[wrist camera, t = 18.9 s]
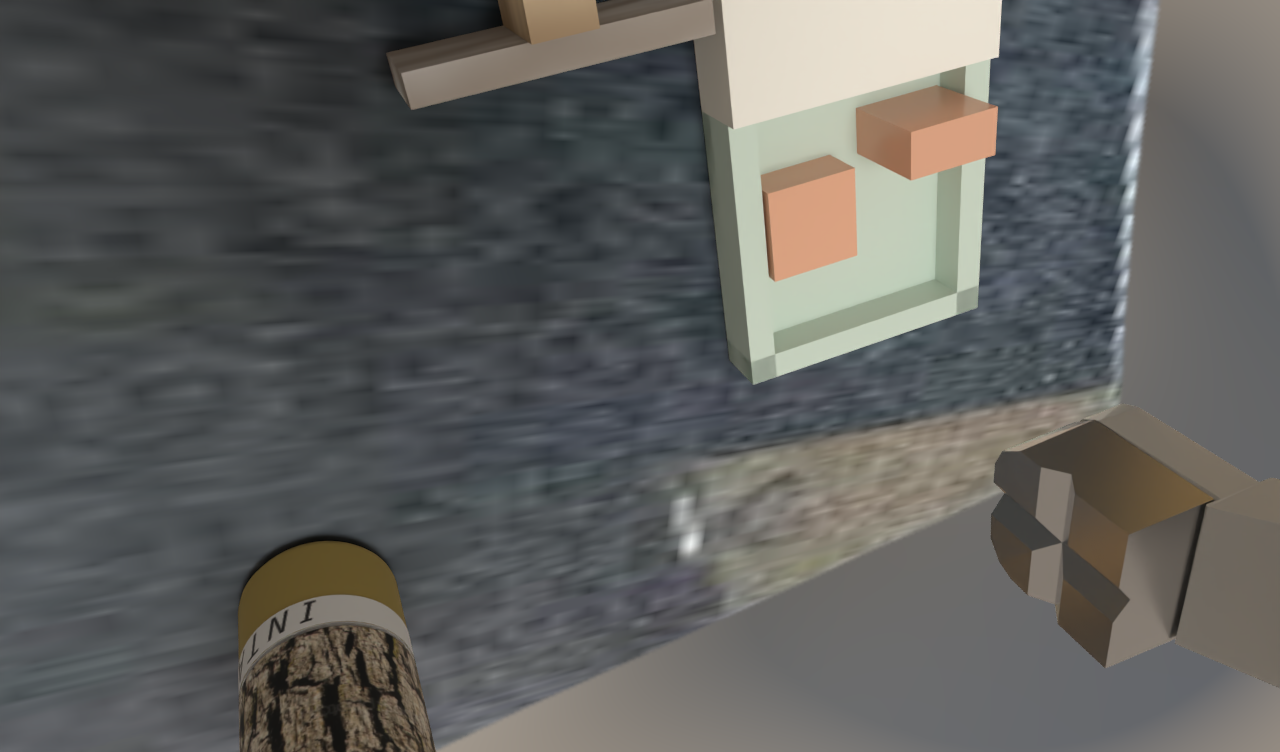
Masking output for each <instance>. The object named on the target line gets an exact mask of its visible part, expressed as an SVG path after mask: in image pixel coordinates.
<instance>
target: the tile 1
mask: <svg viewBox="0 0 1280 752" xmlns="http://www.w3.org/2000/svg"><path fill="white" fill-rule="evenodd" d="M761 186H762V199H763V211H764V224H765V236H766V248H767V261H768V273H769V277H770V278H771V279H772V280H773V281H775V282H777V281H780V280H783V279H786V278H789V277H792V276H795V275H798V274H801V273H804V272H808V271H811V270H814V269H817V268H820V267H823V266H826V265H829V264H832V263H835V262H839V261H842V260H845V259H848V258H851V257H854V256H857V225H856V190H855V168H854V167H852V166H850V165H848V164H846V163H844V162H843V161H841V160H839V159H837V158H835V157H833V156H831V155H827V156H824V157H820V158H817V159H814V160H810V161H807V162H803V163H800V164H796V165H793V166H790V167H786V168H783V169H779V170H776V171H773V172H769V173H766V174H762V175H761Z"/></svg>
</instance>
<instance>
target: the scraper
mask: <svg viewBox="0 0 1280 752" xmlns="http://www.w3.org/2000/svg"><path fill="white" fill-rule="evenodd" d="M498 3H499V8H500V12H501V17H502V22H503V26H499V27H495V28H490V29H486V30H482V31H477V32H473V33H469V34H465V35H460V36H456V37H452V38H448V39H443V40H439V41H435V42H430V43H426V44H422V45H418V46H413V47H409V48H405V49H401V50H396V51H392V52H388V53H386V55H387V58H388V62H389V65H390V69H391V72H392V76H393V79H394V83H395V86H396V88H397V90H398V91H399V93H400V94H401V96H402V97H403V99H404V100H405V101H406V103H407V104H408V106H409V107H410V109H411V110H413V109H417V108H421V107H426V106H430V105H434V104H438V103H442V102H446V101H450V100H454V99H458V98H462V97H466V96H470V95H474V94H478V93H482V92H486V91H490V90H494V89H498V88H502V87H506V86H510V85H514V84H518V83H522V82H526V81H530V80H534V79H538V78H542V77H546V76H550V75H554V74H558V73H562V72H566V71H570V70H574V69H578V68H582V67H586V66H590V65H594V64H598V63H602V62H606V61H610V60H614V59H618V58H622V57H626V56H630V55H634V54H638V53H642V52H646V51H650V50H654V49H658V48H662V47H666V46H670V45H674V44H678V43H682V42H686V41H690V40H694V39H698V38H702V37H706V36H710V35H714V34H716V31H715V21H714V11H713V1H712V0H610V1H606V2H601V3H597V4H596V0H498Z"/></svg>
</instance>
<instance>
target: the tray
mask: <svg viewBox="0 0 1280 752" xmlns="http://www.w3.org/2000/svg"><path fill="white" fill-rule="evenodd" d="M989 76H990V59H989V60H985V61H981V62H978V63H974V64H971V65H967V66H963V67H960V68H956V69H952V70H949V71H945V72H941V73H938V74H934V75H931V76H927V77H923V78H920V79H916V80H912V81H909V82H905V83H901V84H898V85H894V86H890V87H887V88H883V89H880V90H876V91H872V92H869V93H865V94H861V95H858V96H854V97H850V98H847V99H843V100H840V101H836V102H832V103H829V104H825V105H821V106H818V107H814V108H810V109H807V110H803V111H799V112H796V113H792V114H789V115H785V116H781V117H778V118H774V119H770V120H767V121H763V122H759V123H756V124H752V125H749V126H745V127H741V128H738V129H732V128H730V127H728V126H727V125H725V124H723V123H721V122H720V121H718V120H716V119H715V118H713V117H711V116H709V115H708V114H706V113H704V112H703V111H702V119H703V128H704V137H705V146H706V155H707V164H708V173H709V182H710V191H711V200H712V209H713V218H714V227H715V236H716V245H717V254H718V263H719V272H720V281H721V290H722V299H723V307H724V316H725V325H726V334H727V343H728V352H729V360H730V361H731V362H732V363H733V364H734V365H735V366H736V367H737V368H738V369H739V371H740V372H741V373H742V374H743V375H744V376H745V377H746V378H747V379H748V380H749V381H750V382H751V383H752V384H753V385H754V384H757V383H760V382H763V381H766V380H769V379H771V378H774V377H777V376H780V375H783V374H786V373H789V372H792V371H795V370H798V369H800V368H803V367H806V366H809V365H812V364H815V363H818V362H821V361H824V360H827V359H830V358H832V357H835V356H838V355H841V354H844V353H847V352H850V351H853V350H856V349H859V348H861V347H864V346H867V345H870V344H873V343H876V342H879V341H882V340H885V339H888V338H891V337H893V336H896V335H899V334H902V333H905V332H908V331H911V330H914V329H917V328H920V327H923V326H925V325H928V324H931V323H934V322H937V321H940V320H943V319H946V318H949V317H952V316H954V315H957V314H960V313H963V312H966V311H969V310H972V309H975V308H977V306H978V286H979V267H980V248H981V229H982V210H983V191H984V171H985V158H983V159H980V160H977V161H973V162H970V163H967V164H964V165H960V166H957V167H954V168H951V169H947V170H944V171H941V172H938V173H934V174H931V175H928V176H925V177H921V178H918V179H915V180H912V181H911V180H909V179H907V178H905V177H903V176H901V175H899V174H897V173H895V172H893V171H891V170H889V169H887V168H885V167H883V166H881V165H879V164H877V163H875V162H873V161H871V160H869V159H867V158H865V157H863V156H861V155H859V154H857V136H856V108H858V107H861V106H865V105H868V104H872V103H875V102H879V101H882V100H886V99H890V98H893V97H897V96H900V95H904V94H907V93H911V92H914V91H918V90H921V89H925V88H928V87H932V86H935V85H938V86H940V87H943V88H946V89H949V90H952V91H955V92H957V93H960V94H963V95H966V96H969V97H972V98H974V99H977V100H980V101H983V102H986V103H988V95H989ZM827 155H831V156H833V157H835V158H837V159H839V160H841V161H843V162H844V163H846V164H848V165H850V166H852V167H854V168H855V190H856V225H857V256H854V257H851V258H848V259H845V260H842V261H839V262H835V263H832V264H829V265H826V266H823V267H820V268H817V269H814V270H811V271H808V272H804V273H801V274H798V275H795V276H792V277H789V278H786V279H783V280H780V281H777V282H775V281H773V280H772V279H771V278H770V277H769V273H768V261H767V248H766V236H765V224H764V211H763V199H762V186H761V175H762V174H766V173H769V172H773V171H776V170H779V169H783V168H786V167H790V166H793V165H796V164H800V163H803V162H807V161H810V160H814V159H817V158H820V157H824V156H827Z"/></svg>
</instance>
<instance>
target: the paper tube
mask: <svg viewBox="0 0 1280 752" xmlns="http://www.w3.org/2000/svg"><path fill="white" fill-rule="evenodd" d="M238 639H239V667H238V681H239V745H240V752H436V750H435V746H434V741H433V737H432V733H431V728H430V724H429V720H428V715H427V711H426V707H425V702H424V698H423V693H422V689H421V685H420V680H419V676H418V672H417V667H416V663H415V659H414V654H413V650H412V646H411V641H410V637H409V633H408V630H407V626H406V622H405V618H404V613H403V609H402V605H401V600H400V596H399V591H398V587H397V583H396V580H395V578H394V575H393V573H392V572H391V570H390V568H389V567H388V565H387V564H386V563H385V562H384V561H383V560H382V559H381V558H380V557H379V556H377V555H376V554H374V553H373V552H371V551H369V550H367V549H365V548H363V547H360V546H357V545H354V544H350V543H346V542H340V541H318V542H311V543H306V544H302V545H299V546H296V547H293V548H291V549H288V550H286V551H284V552H282V553H280V554H278V555H277V556H275V557H274V558H272V559H271V560H269V561H268V562H267V563H266V564H264V565H263V566H262V567H261V568H260V569H259V570H258V571H257V572H256V573H255V574H254V575H253V576H252V577H251V579H250V580H249V581H248V583H247V584H246V586H245V588H244V590H243V593H242V595H241V599H240V603H239V609H238Z"/></svg>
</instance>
